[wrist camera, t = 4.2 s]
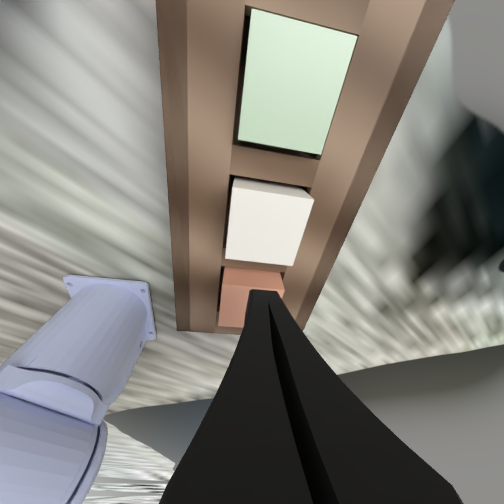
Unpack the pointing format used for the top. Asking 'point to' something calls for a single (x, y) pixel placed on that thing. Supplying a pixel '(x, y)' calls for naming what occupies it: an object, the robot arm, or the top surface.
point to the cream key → (266, 221)
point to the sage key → (292, 81)
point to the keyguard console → (271, 157)
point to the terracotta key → (243, 292)
